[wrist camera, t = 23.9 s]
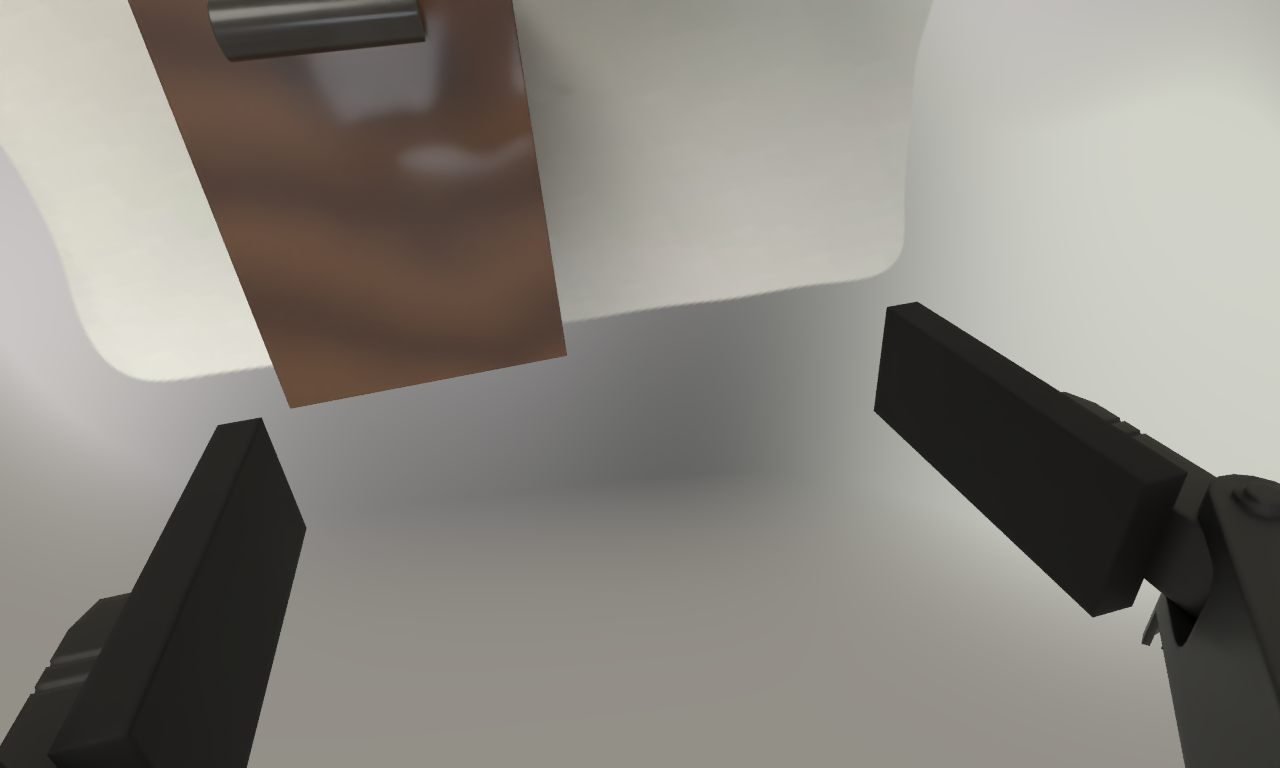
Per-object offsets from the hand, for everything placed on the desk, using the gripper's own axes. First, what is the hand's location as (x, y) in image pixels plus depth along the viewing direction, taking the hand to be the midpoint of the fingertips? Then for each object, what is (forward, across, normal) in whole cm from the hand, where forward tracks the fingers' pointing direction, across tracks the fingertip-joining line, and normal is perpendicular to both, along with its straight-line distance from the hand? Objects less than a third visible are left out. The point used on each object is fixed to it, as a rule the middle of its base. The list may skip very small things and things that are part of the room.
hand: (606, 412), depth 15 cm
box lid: (+18, +5, -1) cm, 19 cm away
